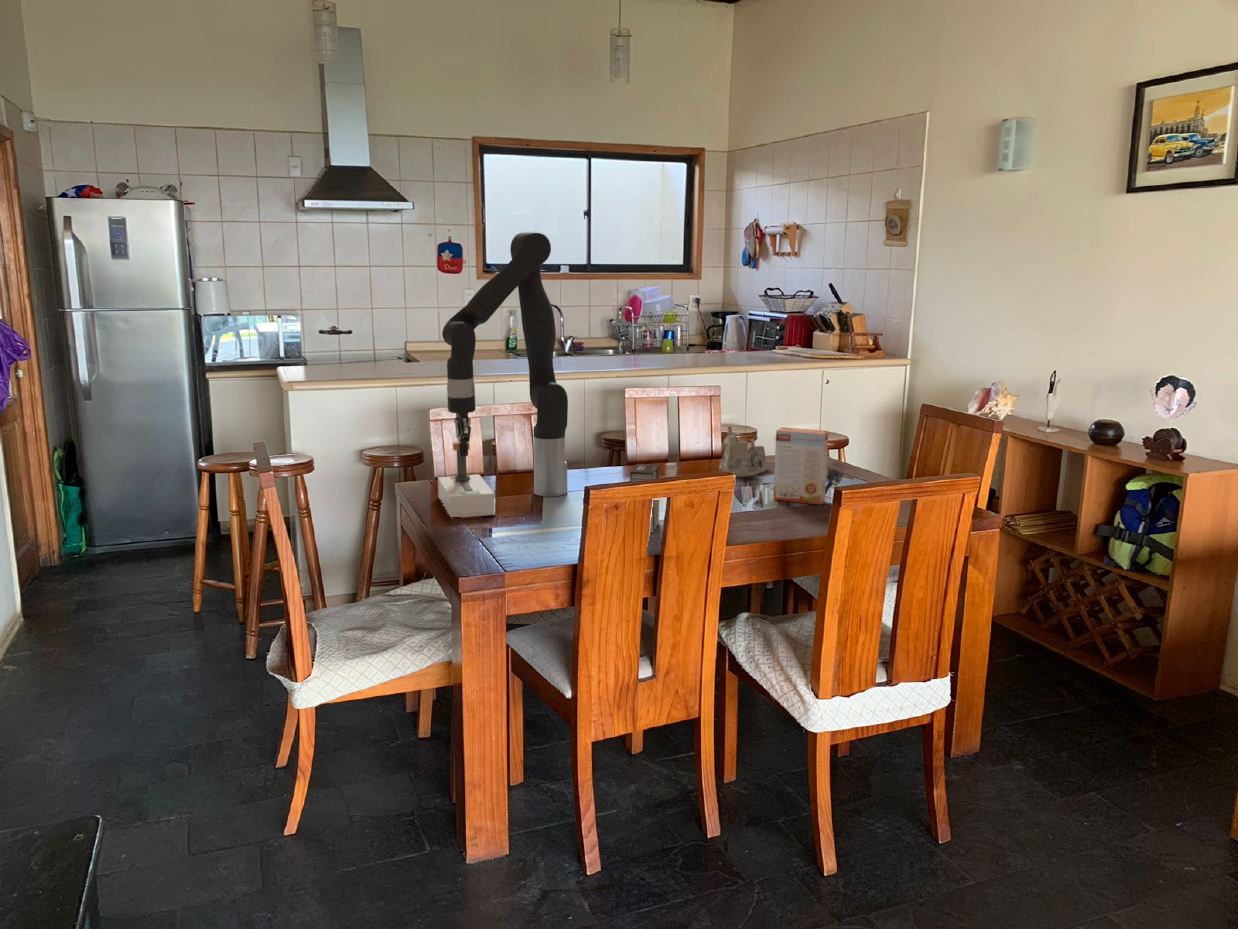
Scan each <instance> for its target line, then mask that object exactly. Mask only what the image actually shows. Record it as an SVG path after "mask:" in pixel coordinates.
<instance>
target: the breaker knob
mask: <svg viewBox="0 0 1238 929" xmlns="http://www.w3.org/2000/svg"><path fill="white" fill-rule="evenodd" d="M452 450H453V451H456V471H457V472H456V473H457V475H456V474H455V475H453V476H454V479H455V481H465V480H470V476H469V475H470V474H468V473H467V456H463V457H461V456H460V454H459V442H458V441H452ZM469 450H470V441H469V442H468V451H469Z"/></svg>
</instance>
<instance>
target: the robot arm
mask: <svg viewBox="0 0 1238 929" xmlns="http://www.w3.org/2000/svg"><path fill="white" fill-rule="evenodd" d="M509 252H510V257H511V260H510V261H509V262H508V263H507V264H506V266H505V267H504V268H503V269H502V270H500V271H499V272H498V273H496V275H494V276H493V277H492V278H490V279H489V280H488V281H487V282H486V283H484V284H483V286H481V287H480V289H478V290H477V292H476V293H475V294H474V295H473V296H472V298H471V299H470V300H469V301H468V302H467V304H465V306H463V308H461V309H459V310H458V311H457V313H455V314H454V315H453V316H452V317H450V319H449V320H448V321H447V322H446V323H445V325H444V327H443V329H442V339H443V341H444V343H446V344H447V345H449V346H451V347H450V349H451V350H450V357H449V358H448V359H447V360H446V361H447V363H446V369H447V370H446V372H447V374H446V375H447V382H446V384H447V385H446V391H447V392H446V393H447V394H446V395H447V398H446V399H447V411H448V412H449V413H451V414H455V417H454V418H453V422H454V426H455V433H456V434H455V436H456V439H457V442H459V454H460V456H461V457H463V456H466V457H468V455H469V450H468V442H469V443H470V440H471V431H472V427H471V418H470V417H469V413H474V412H475V411H476V410H477V409H476V387H475V380H474V365H473V363H474V362H473V361H474V357H475V352H476V351H475V350H476V344H477V342H476V341H477V338H476V332H475V329H477V327H478V326H479V325H483V324H485V323H486V322H488V321H489V319H490V318H491V317H492V316H493V315H494V314H495V312H497V310H498V309H499V308H500V307H501V305H502V304H503V303H504V302H505V301H506V299H507V298H508V297H509V296H510V295H511V294H512V293H513V291H515V290H516V288H517V290H518V301H519V308H520V314H521V315H520V316H521V325H522V333H523V338H524V346H525V351H526V357H527V362H528V363H527V364H528V373H529V374H528V375H529V377H528V378H529V380H528V381H529V400H530V401H531V404H532V405H533V407H534V408H535V409H536V424H535V425H534V427H533V432H532V434H533V484H534V485H533V487H534V488H533V492H534V495H536V496H540V497H549V498H550V497H559V496H563V495H567V494H568V463H567V461H566V429H567V428H568V414H569V400H568V398H569V397H568V393H567V391H566V389H565V388H564V387H563V385H561V384H559V383H557V380H556V375H555V370H554V363H553V362H554V361H553V360H554V352H555V346H556V345H555V344H556V338H557V332H556V323H555V315H554V311H553V310H554V309H553V307H552V303H551V302H550V299H549V297H548V294H547V292H546V289H545V288H544V285H543V281H542V276H541V266H542V265H543V264H544V263H545V262H546V261H547V260H548V259H549V257H550V254H551V252H552V246H551V242H550V240H549V238H548V237H547V236H546V235H545V234H544V233H542V232H539V231H537V232H536V231H523V232H519V233H518V234H516V235H514V237H513V238H512V240H511V243H510V251H509ZM566 493H567V494H566Z"/></svg>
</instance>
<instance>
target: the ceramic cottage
mask: <svg viewBox="0 0 1238 929" xmlns="http://www.w3.org/2000/svg"><path fill="white" fill-rule="evenodd" d="M723 443H724V451H723V455H722V461H721V463H720V464H719V466H718V467H719V468H718V470H719V469H723V470H722V471H725V472H734V473H735V474H736V477H735V478H737V477H738V478H741V477H742V478H743V477H751V476H755V475H757V474H760V473H762V472H763V473H764V472H765V471H766V472H767V468H766V466H765V463H766V452H765V451H766V450H765V447H764V446H763V445H756V444H755V439H753V438H752V439H750V442H748V441H746V440H745V441H744V440H742V441H741V439H740V438H738V436H737V435H736V434H734V433H733V429H732V425H727V436H726V437H724V439H723Z"/></svg>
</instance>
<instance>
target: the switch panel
mask: <svg viewBox="0 0 1238 929" xmlns="http://www.w3.org/2000/svg"><path fill="white" fill-rule="evenodd" d="M468 475H469V476H470V480H465V481H455V479H454V475H451V476H449V475H448V476H438V477H437V486H438V488H437V492H438V499H439V500H441V501H440V502H441V504H442V503H443V504H442V506H443V508H444V507H445V508H444V509H445V511H446V510H447V511H446V513H447V515H448V514H449V515H448V516H450V517H461V518H471V517H480V516H481V517H483V516H484V517H485V516H494V515H496V514H495V513H496V512H495V511H496V510H495V492H494V491H493V490H492V489H491V488H490V486H489V485H488V484H487V482H486V481H485V479H483V477H482V476H481V475H480V474H468ZM450 517H449V518H450Z"/></svg>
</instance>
